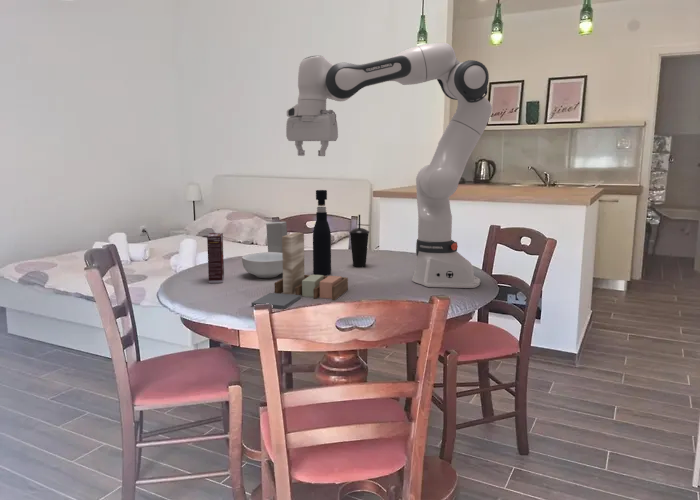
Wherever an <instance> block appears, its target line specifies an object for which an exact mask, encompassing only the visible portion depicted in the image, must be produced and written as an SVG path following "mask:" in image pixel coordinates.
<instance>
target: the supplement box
mask: <svg viewBox="0 0 700 500" xmlns="http://www.w3.org/2000/svg"><path fill="white" fill-rule="evenodd" d="M223 234H224V233H223V232H210V233H208V235H207V236H206V241H207V242H206V243H207V244H206V245H207V264H208V265H207V267H208V270H207V273H208V283H209V284H223V281H224V278H225V268H224V267H225V266H224V263H225V262H224V236H223Z"/></svg>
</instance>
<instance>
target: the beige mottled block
mask: <svg viewBox="0 0 700 500" xmlns="http://www.w3.org/2000/svg"><path fill="white" fill-rule="evenodd" d="M282 258H283V273H282V279H283V293H282V294H292V295H295V287H297V286H299V285H300V284H302V280H304V279H305V275H306V274H305V233H304V232H296V231H295V232H292V233H289V234H287V235H286V236H283V237H282Z"/></svg>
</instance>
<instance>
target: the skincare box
mask: <svg viewBox="0 0 700 500" xmlns="http://www.w3.org/2000/svg"><path fill="white" fill-rule="evenodd" d="M265 225H266V238H267V240H266V241H267V252H277V253H282V237H283V236H286V235H288V230H287V228H288V227H287V225H288V224H287V221H272V222H268V223H266V224H265Z"/></svg>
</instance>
